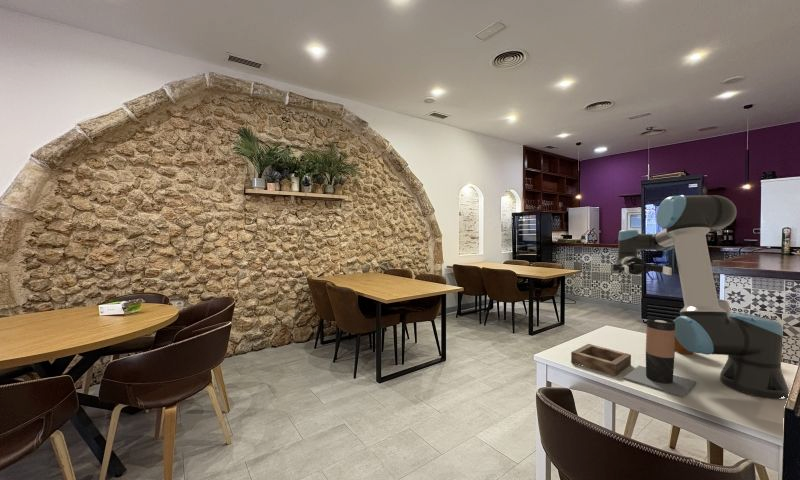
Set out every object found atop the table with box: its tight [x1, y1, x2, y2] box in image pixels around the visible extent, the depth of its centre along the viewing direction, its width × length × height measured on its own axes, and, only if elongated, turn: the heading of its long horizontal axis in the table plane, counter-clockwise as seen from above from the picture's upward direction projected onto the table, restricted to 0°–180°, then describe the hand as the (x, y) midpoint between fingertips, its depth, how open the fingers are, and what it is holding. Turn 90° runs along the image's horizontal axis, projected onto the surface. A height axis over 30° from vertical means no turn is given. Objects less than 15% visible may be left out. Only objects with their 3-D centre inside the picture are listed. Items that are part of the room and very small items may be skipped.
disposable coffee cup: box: [673, 319, 694, 355], centre depth 138 cm, size 10×10×12 cm
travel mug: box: [645, 316, 676, 384], centre depth 111 cm, size 8×8×20 cm
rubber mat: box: [622, 365, 697, 399], centre depth 112 cm, size 16×16×1 cm
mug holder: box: [570, 343, 632, 377], centre depth 126 cm, size 15×15×4 cm
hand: (648, 270), depth 128 cm, fingers open, 13 cm apart
